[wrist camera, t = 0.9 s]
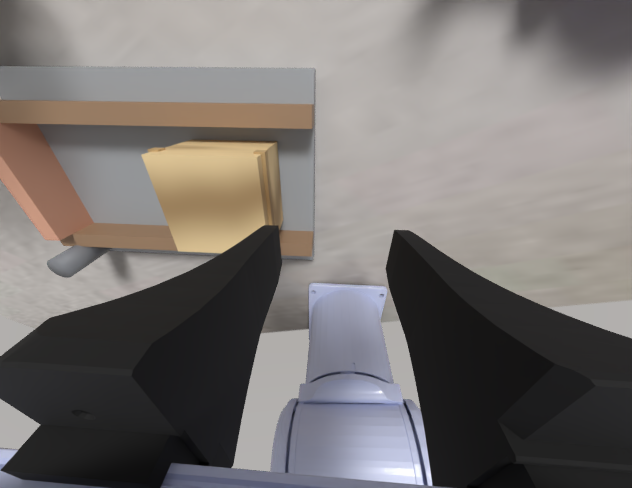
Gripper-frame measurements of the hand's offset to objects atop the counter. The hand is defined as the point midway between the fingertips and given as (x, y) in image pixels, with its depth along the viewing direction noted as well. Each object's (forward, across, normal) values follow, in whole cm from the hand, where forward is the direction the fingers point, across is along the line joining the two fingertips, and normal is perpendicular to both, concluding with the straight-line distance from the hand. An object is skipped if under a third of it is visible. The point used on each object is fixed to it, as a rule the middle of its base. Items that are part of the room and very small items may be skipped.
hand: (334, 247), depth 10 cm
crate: (+8, +7, 0) cm, 11 cm away
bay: (+9, +12, 0) cm, 15 cm away
